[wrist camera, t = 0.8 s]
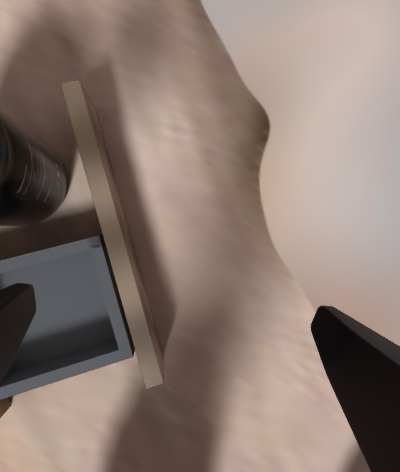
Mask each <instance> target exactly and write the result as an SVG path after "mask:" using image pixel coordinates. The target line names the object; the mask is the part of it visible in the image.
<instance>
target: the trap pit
mask: <svg viewBox="0 0 400 472" xmlns="http://www.w3.org/2000/svg"><path fill="white" fill-rule="evenodd" d="M15 283H25V284H31V285H33V287H34V292H35V300H36V313H35V315H34V318H33V320H32V322H31V324H30V326H29V328H28V330H27V332H26V334H25V337H24V339H23V341H22V343H21V345H20V347H19V349H18V351H17V353H16V356H15V358H14V360H13V362H12V363H11V365H10V367H9V369H8V371H7V372H6V374H5V376H4V377H3V379H2V381H1V382H0V400H1V399H4V398H7V397H10V396H13V395H16V394H19V393H23V392H26V391H29V390H32V389H35V388H38V387H41V386H44V385H47V384H51V383H54V382H57V381H60V380H63V379H66V378H69V377H72V376H75V375H79V374H82V373H85V372H88V371H91V370H94V369H97V368H100V367H103V366H107V365H110V364H113V363H116V362H119V361H122V360H125V359H128V358H131V357H133V355H134V351H135V347H134V343H133V340H132V336H131V333H130V329H129V326H128V322H127V319H126V315H125V312H124V308H123V304H122V301H121V297H120V294H119V290H118V287H117V283H116V280H115V276H114V273H113V269H112V265H111V262H110V258H109V255H108V251H107V248H106V244H105V241H104V237H103V235H99V236H95V237H91V238H87V239H83V240H79V241H75V242H71V243H67V244H63V245H59V246H55V247H52V248H48V249H44V250H40V251H36V252H32V253H28V254H24V255H20V256H16V257H12V258H8V259H5V260H1V261H0V290H1V289H4V288H6V287H8V286H10V285H13V284H15Z"/></svg>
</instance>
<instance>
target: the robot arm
mask: <svg viewBox="0 0 400 472" xmlns="http://www.w3.org/2000/svg"><path fill="white" fill-rule="evenodd" d="M35 313H36V300H35V292H34V287H33V285H31V284H25V283H15V284H13V285H10V286H8V287H6V288H4V289H1V290H0V382H1V381H2V379H3V377H4V376H5V374H6V372H7V371H8V369H9V367H10V365H11V363H12V362H13V360H14V358H15V356H16V353H17V351H18V349H19V347H20V345H21V343H22V341H23V339H24V337H25V334H26V332H27V330H28V328H29V326H30V324H31V322H32V320H33V318H34V315H35ZM311 332H312V335H313V338H314V340H315V343H316V346H317V349H318V352H319V355H320V358H321V360H322V363H323V366H324V369H325V371H326V374H327V377H328V379H329V381H330V383H331V386H332V388H333V390H334V392H335V394H336V397H337V399H338V401H339V403H340V405H341V407H342V410H343V412H344V414H345V416H346V418H347V421H348V423H349V425H350V427H351V429H352V431H353V434H354V436H355V438H356V440H357V442H358V444H359V447H360V449H361V451H362V453H363V455H364V458H365V460H366V462H367V464H368V466H369V468H370V471H371V472H400V346H398V345H396V344H395V343H393V342H391V341H390V340H388V339H386V338H385V337H383V336H381V335H380V334H378V333H376V332H375V331H373V330H371V329H370V328H368V327H366V326H364V325H363V324H361V323H360V322H358V321H356V320H354V319H353V318H351V317H350V316H348V315H346V314H344V313H343V312H341V311H339V310H338V309H336V308H334V307H332V306H320V307H319V308H318V309H317V311H316V314H315V316H314V319H313V321H312V324H311Z"/></svg>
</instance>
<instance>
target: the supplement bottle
mask: <svg viewBox="0 0 400 472" xmlns="http://www.w3.org/2000/svg"><path fill="white" fill-rule="evenodd" d="M66 189H67V177H66V172H65V169H64V167H63V164H62V163H61V161H60V159H59V158H58V156H57V155H56V154H55V153H54V152H53V151H52V150H51V149H50V148H49V147H48V146H46V145H45V144H44V143H43V142H41V141H40V140H39V139H37V138H36V137H35V136H33V135H32V134H31V133H29V132H28V131H27V130H25V129H24V128H23V127H21V126H20V125H19V124H17V123H16V122H15V121H13V120H12V119H11V118H9V117H8V116H7V115H5V114H4V113H3V112H1V111H0V226H24V225H31V224H35V223H38V222H41V221H43V220H45V219H46V218H48V217H49V216H51V215H52V214H53V213H54V212H55V211H56V210H57V209H58V208H59V206H60V205H61V203H62V202H63V199H64V197H65V194H66Z"/></svg>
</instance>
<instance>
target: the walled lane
mask: <svg viewBox="0 0 400 472" xmlns="http://www.w3.org/2000/svg"><path fill="white" fill-rule="evenodd" d="M60 84H61V88H62V92H63V95H64V99H65V102H66V106H67V109H68V113H69V116H70V120H71V123H72V127H73V131H74V134H75V138H76V141H77V145H78V148H79V152H80V155H81V159H82V162H83V166H84V170H85V173H86V177H87V180H88V184H89V187H90V191H91V194H92V198H93V202H94V205H95V209H96V212H97V216H98V219H99V223H100V226H101V230H102V233H103V237H104V241H105V244H106V248H107V251H108V255H109V258H110V262H111V265H112V269H113V273H114V276H115V280H116V283H117V287H118V290H119V294H120V297H121V301H122V304H123V308H124V312H125V315H126V319H127V322H128V326H129V329H130V333H131V336H132V340H133V343H134V347H135V351H136V354H137V358H138V361H139V365H140V368H141V372H142V375H143V379H144V383H145V386H146V389H148V388H151V387H154V386H157V385H160V384H163V383H164V356H163V352H162V348H161V345H160V341H159V337H158V334H157V330H156V327H155V323H154V319H153V316H152V312H151V308H150V305H149V301H148V298H147V294H146V290H145V287H144V283H143V279H142V276H141V272H140V269H139V265H138V261H137V258H136V254H135V251H134V247H133V243H132V240H131V236H130V232H129V229H128V225H127V222H126V218H125V214H124V211H123V207H122V203H121V200H120V196H119V193H118V189H117V185H116V182H115V178H114V175H113V171H112V167H111V164H110V160H109V156H108V153H107V149H106V146H105V142H104V138H103V135H102V131H101V127H100V124H99V120H98V117H97V113H96V109H95V107H94V106H93V104H92V102H91V100H90V98H89V97H88V95H87V93H86V91H85V89H84V88H83V86H82V84H81V82H80V80H75V81H70V82H64V83H60ZM10 406H11V403H10V400H9V397H7V398H4V399H1V400H0V418H1V417H2V415H3V414H4V413H5V412H6V411H7V410H8V409H9V407H10Z"/></svg>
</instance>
